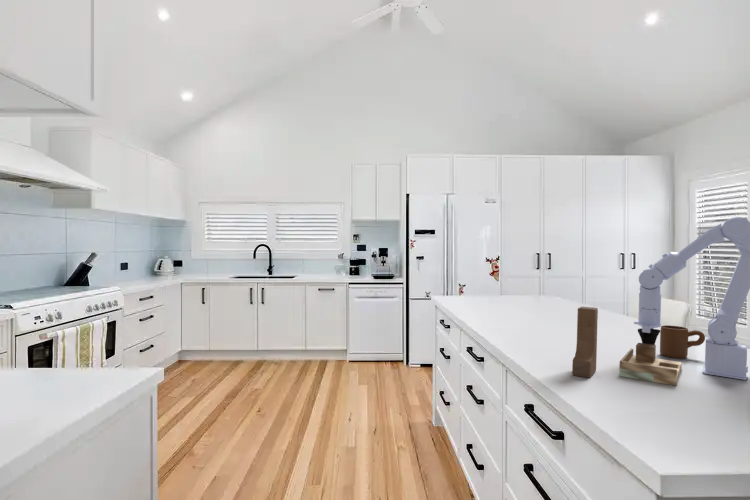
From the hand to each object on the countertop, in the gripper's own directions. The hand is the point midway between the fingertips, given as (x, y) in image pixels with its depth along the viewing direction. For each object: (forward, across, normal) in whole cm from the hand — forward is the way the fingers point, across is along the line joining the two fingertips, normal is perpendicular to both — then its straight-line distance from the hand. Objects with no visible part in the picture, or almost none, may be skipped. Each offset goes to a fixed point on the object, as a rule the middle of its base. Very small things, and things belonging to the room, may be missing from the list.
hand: (648, 352), depth 137 cm
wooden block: (+3, +26, -12) cm, 29 cm away
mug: (+3, -16, +8) cm, 18 cm away
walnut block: (+1, +6, 0) cm, 6 cm away
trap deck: (+3, +12, +2) cm, 12 cm away
